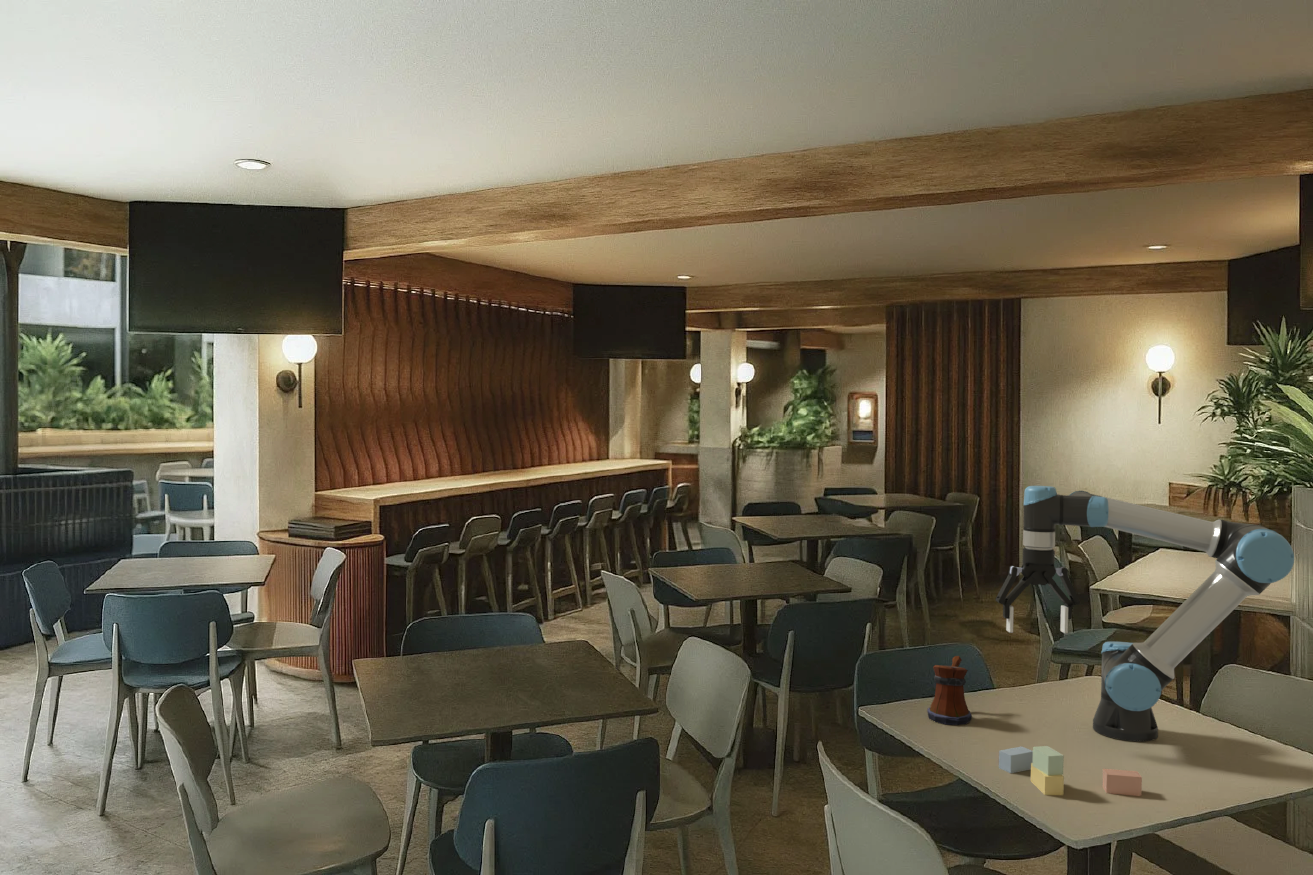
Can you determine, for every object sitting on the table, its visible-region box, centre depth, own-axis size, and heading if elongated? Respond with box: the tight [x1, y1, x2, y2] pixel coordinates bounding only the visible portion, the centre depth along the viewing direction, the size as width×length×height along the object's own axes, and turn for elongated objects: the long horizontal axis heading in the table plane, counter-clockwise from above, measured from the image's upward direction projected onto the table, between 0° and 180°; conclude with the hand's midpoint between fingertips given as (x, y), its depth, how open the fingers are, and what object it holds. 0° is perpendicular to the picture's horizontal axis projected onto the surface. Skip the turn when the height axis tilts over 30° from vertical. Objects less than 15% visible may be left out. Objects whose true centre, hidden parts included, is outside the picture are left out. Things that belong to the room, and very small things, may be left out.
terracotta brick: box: [1102, 768, 1143, 797], centre depth 217 cm, size 7×4×4 cm, turn 78°
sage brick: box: [1032, 745, 1065, 776], centre depth 218 cm, size 6×4×4 cm, turn 11°
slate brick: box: [998, 746, 1033, 774], centre depth 230 cm, size 7×4×4 cm, turn 116°
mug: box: [926, 655, 973, 726], centre depth 269 cm, size 18×12×15 cm, turn 154°
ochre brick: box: [1030, 763, 1065, 796], centre depth 218 cm, size 8×4×4 cm, turn 0°
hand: (1036, 631), depth 251 cm, fingers open, 13 cm apart
